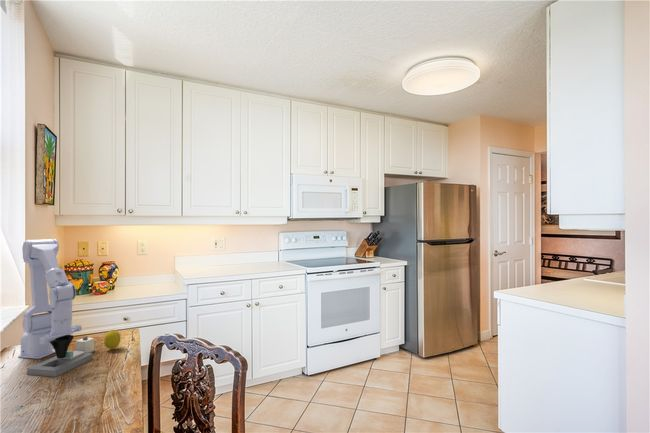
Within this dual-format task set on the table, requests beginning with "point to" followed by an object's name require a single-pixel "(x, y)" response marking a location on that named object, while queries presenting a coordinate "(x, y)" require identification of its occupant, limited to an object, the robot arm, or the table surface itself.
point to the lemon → (112, 339)
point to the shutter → (72, 354)
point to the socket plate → (63, 365)
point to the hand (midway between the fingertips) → (61, 357)
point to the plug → (85, 344)
